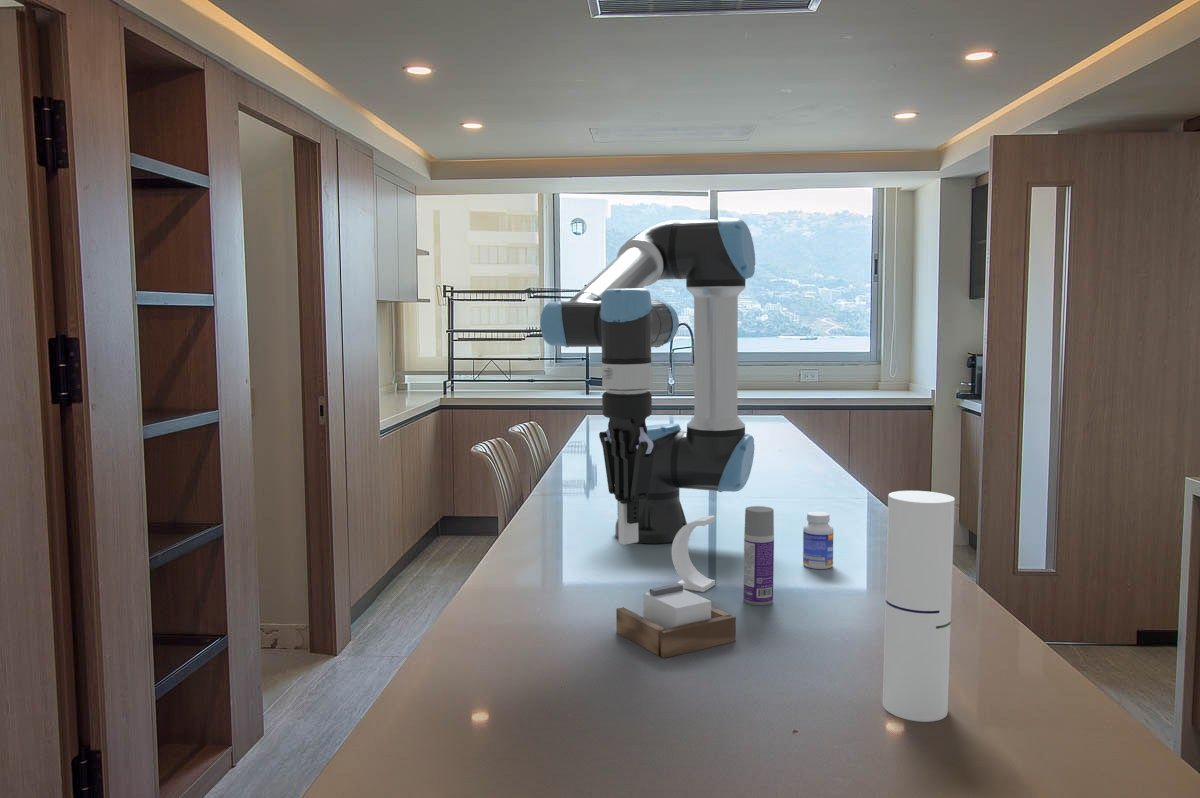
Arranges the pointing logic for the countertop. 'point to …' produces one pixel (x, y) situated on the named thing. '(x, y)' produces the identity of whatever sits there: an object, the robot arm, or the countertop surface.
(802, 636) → the countertop surface
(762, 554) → the container
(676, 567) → the headphone stand
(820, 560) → the pill bottle
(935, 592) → the cylindrical container
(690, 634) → the bay
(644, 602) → the matte white cube
